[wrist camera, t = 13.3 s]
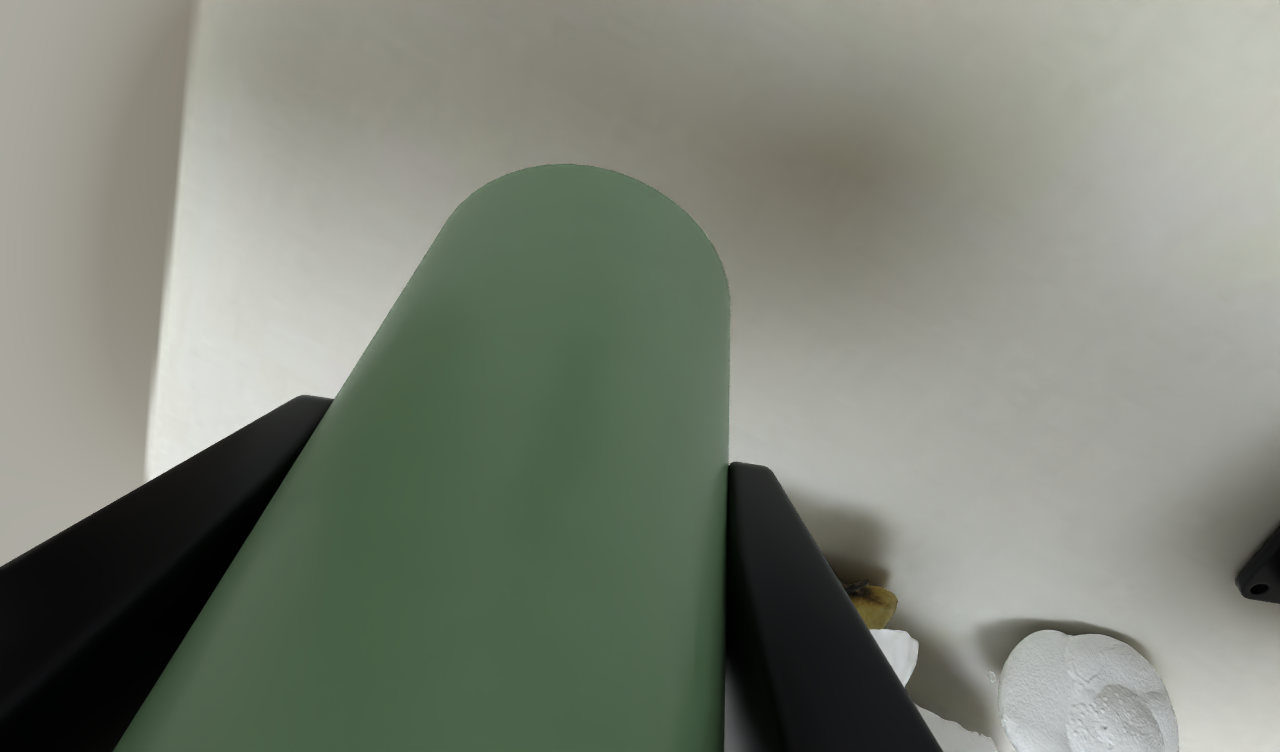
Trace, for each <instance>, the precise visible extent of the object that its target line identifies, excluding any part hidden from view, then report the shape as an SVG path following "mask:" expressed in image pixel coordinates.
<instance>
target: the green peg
mask: <svg viewBox="0 0 1280 752" xmlns="http://www.w3.org/2000/svg"><path fill="white" fill-rule="evenodd" d="M730 317H731V313H730V293H729V287H728V281H727V278H726V275H725V271H724V268H723V265H722V262H721V260H720V258H719V256H718V254H717V252H716V250H715V248H714V246H713V245H712V243H711V242H710V240H709V239H708V237H707V236H706V234H705V233H704V231H703V230H702V229H701V227H700V226H699V225H698V224H697V223H696V222H695V221H694V220H693V219H692V217H691V216H690V215H689V214H688V213H687V212H686V211H684V210H683V209H682V208H681V207H680V206H679V205H677V204H676V203H675V202H674V201H673V200H671V199H670V198H668V197H667V196H665V195H664V194H662V193H661V192H659V191H658V190H656V189H655V188H653V187H651V186H649V185H647V184H645V183H643V182H641V181H639V180H637V179H635V178H633V177H630V176H627V175H624V174H621V173H618V172H616V171H612V170H608V169H603V168H599V167H594V166H587V165H576V164H553V165H543V166H537V167H530V168H525V169H522V170H519V171H516V172H512V173H509V174H506V175H504V176H502V177H500V178H498V179H495V180H493V181H491V182H489V183H487V184H486V185H484V186H483V187H481V188H480V189H478V190H477V191H475V192H474V193H472V194H471V195H470V196H469V197H468V198H467V199H466V200H465V201H463V202H462V203H461V204H460V205H459V206H458V207H457V208H456V210H455V211H454V212H453V213H452V215H451V216H450V217H449V218H448V220H447V221H446V223H445V224H444V226H443V228H442V229H441V231H440V232H439V234H438V235H437V237H436V239H435V240H434V242H433V243H432V245H431V247H430V248H429V250H428V251H427V253H426V255H425V256H424V258H423V259H422V261H421V262H420V264H419V266H418V267H417V269H416V270H415V272H414V274H413V275H412V277H411V278H410V280H409V282H408V283H407V285H406V286H405V288H404V290H403V291H402V293H401V294H400V296H399V297H398V299H397V301H396V302H395V304H394V305H393V307H392V309H391V310H390V312H389V313H388V315H387V317H386V318H385V320H384V321H383V323H382V324H381V326H380V328H379V329H378V331H377V332H376V334H375V336H374V337H373V339H372V340H371V342H370V344H369V345H368V347H367V348H366V350H365V351H364V353H363V355H362V356H361V358H360V359H359V361H358V363H357V364H356V366H355V367H354V369H353V371H352V372H351V374H350V375H349V377H348V379H347V380H346V382H345V383H344V385H343V386H342V388H341V390H340V391H339V393H338V394H337V396H336V398H335V399H334V401H333V402H332V404H331V406H330V407H329V409H328V410H327V412H326V413H325V415H324V417H323V418H322V420H321V421H320V423H319V425H318V426H317V428H316V429H315V431H314V433H313V434H312V436H311V437H310V439H309V440H308V442H307V444H306V445H305V447H304V448H303V450H302V452H301V453H300V455H299V456H298V458H297V460H296V461H295V463H294V464H293V466H292V468H291V469H290V471H289V472H288V474H287V475H286V477H285V479H284V480H283V482H282V483H281V485H280V487H279V488H278V490H277V491H276V493H275V495H274V496H273V498H272V499H271V501H270V502H269V504H268V506H267V507H266V509H265V510H264V512H263V514H262V515H261V517H260V518H259V520H258V522H257V523H256V525H255V526H254V528H253V529H252V531H251V533H250V534H249V536H248V537H247V539H246V541H245V542H244V544H243V545H242V547H241V549H240V550H239V552H238V553H237V555H236V557H235V558H234V560H233V561H232V563H231V564H230V566H229V568H228V569H227V571H226V572H225V574H224V576H223V577H222V579H221V580H220V582H219V584H218V585H217V587H216V588H215V590H214V591H213V593H212V595H211V596H210V598H209V599H208V601H207V603H206V604H205V606H204V607H203V609H202V611H201V612H200V614H199V615H198V617H197V618H196V620H195V622H194V623H193V625H192V626H191V628H190V630H189V631H188V633H187V634H186V636H185V638H184V639H183V641H182V642H181V644H180V645H179V647H178V649H177V650H176V652H175V653H174V655H173V657H172V658H171V660H170V661H169V663H168V665H167V666H166V668H165V669H164V671H163V673H162V674H161V676H160V677H159V679H158V680H157V682H156V684H155V685H154V687H153V688H152V690H151V692H150V693H149V695H148V696H147V698H146V700H145V701H144V703H143V704H142V706H141V707H140V709H139V711H138V712H137V714H136V715H135V717H134V719H133V720H132V722H131V723H130V725H129V727H128V728H127V730H126V731H125V733H124V734H123V736H122V738H121V739H120V741H119V742H118V744H117V746H116V747H115V749H114V750H113V752H724V743H725V672H726V582H727V505H728V459H729V388H730Z"/></svg>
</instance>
